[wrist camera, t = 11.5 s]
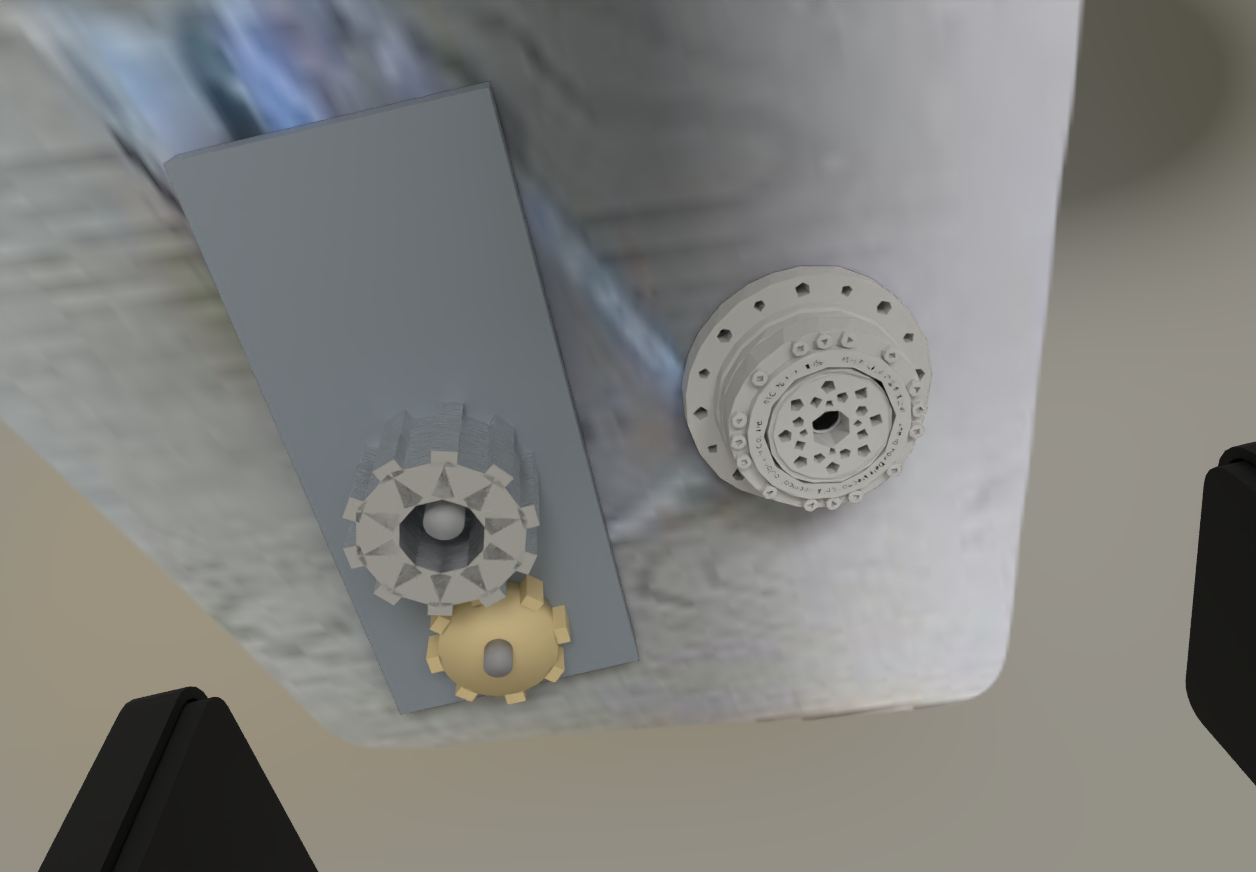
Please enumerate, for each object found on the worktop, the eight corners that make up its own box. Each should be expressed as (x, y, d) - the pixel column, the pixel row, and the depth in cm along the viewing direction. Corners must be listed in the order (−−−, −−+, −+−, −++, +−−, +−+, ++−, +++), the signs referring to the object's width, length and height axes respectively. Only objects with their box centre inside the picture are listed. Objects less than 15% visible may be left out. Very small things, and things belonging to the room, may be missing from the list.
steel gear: (333, 425, 37) (313, 477, 33) (512, 384, 37) (511, 432, 33) (390, 571, 40) (378, 632, 36) (555, 533, 40) (559, 590, 36)
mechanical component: (919, 462, 42) (918, 242, 38) (960, 516, 38) (964, 278, 34) (695, 502, 42) (666, 286, 37) (712, 560, 38) (683, 327, 33)
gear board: (177, 154, 33) (130, 184, 29) (489, 81, 33) (485, 101, 29) (404, 691, 45) (393, 765, 41) (635, 638, 45) (646, 707, 41)
